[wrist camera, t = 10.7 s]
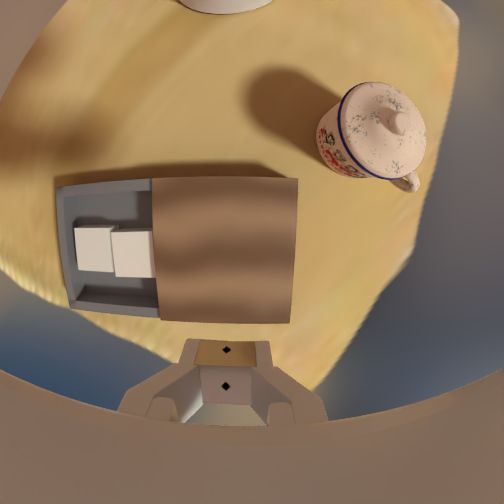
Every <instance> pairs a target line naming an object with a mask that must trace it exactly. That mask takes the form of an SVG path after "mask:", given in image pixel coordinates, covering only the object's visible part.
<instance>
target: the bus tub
mask: <svg viewBox="0 0 504 504" xmlns="http://www.w3.org/2000/svg"><path fill="white" fill-rule="evenodd" d="M56 207H57V224H58V236H59V245H60V254H61V261H62V268H63V274H64V280H65V285H66V291H67V296H68V300H69V305H70V308H71V309H78V310H85V311H93V312H102V313H110V314H120V315H130V316H141V317H154V318H160V311H159V302H158V293H157V282H156V278H144V277H116V274H115V271H114V272H100V271H86V270H79V269H78V262H77V253H76V243H75V230H74V228H76V227H80V226H83V225H119V229H128V228H153V214H152V178H149V179H134V180H120V181H109V182H98V183H89V184H80V185H72V186H64V187H57V188H56Z"/></svg>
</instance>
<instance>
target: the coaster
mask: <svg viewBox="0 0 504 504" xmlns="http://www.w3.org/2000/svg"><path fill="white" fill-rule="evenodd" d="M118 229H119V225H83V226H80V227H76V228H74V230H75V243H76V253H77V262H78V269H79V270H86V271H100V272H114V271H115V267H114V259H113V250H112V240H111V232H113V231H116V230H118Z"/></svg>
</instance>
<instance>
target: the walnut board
mask: <svg viewBox="0 0 504 504" xmlns="http://www.w3.org/2000/svg"><path fill="white" fill-rule="evenodd" d="M297 199H298V178H279V177H247V176H198V177H166V178H152V214H153V240H154V257H155V271H156V282H157V293H158V302H159V311H160V319H161V320H166V321H182V322H202V323H237V324H283V323H290V313H291V301H292V288H293V274H294V259H295V242H296V223H297Z"/></svg>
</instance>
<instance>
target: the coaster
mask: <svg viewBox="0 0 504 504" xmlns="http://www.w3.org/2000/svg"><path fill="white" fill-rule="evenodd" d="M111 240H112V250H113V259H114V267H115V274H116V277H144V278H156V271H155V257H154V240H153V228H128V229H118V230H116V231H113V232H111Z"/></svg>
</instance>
